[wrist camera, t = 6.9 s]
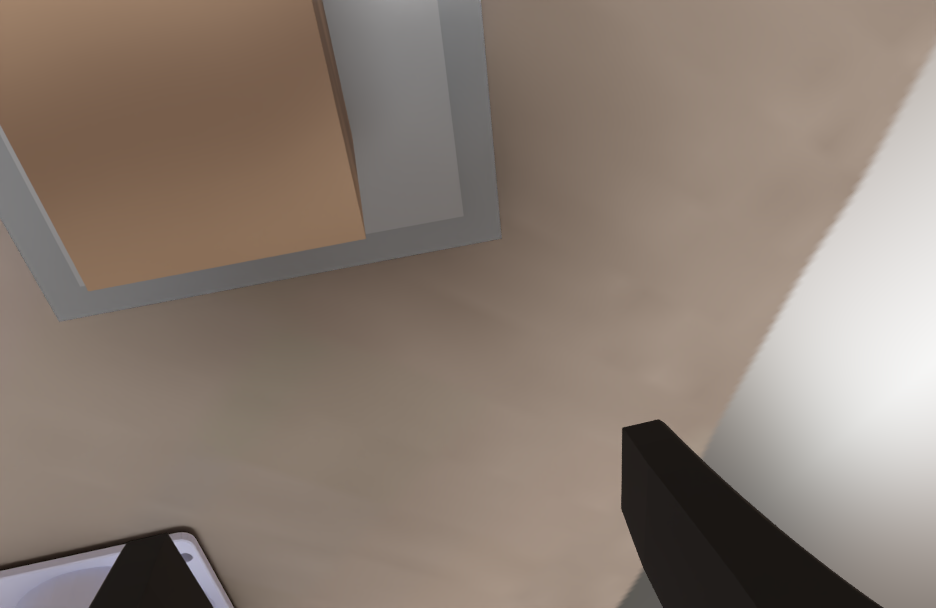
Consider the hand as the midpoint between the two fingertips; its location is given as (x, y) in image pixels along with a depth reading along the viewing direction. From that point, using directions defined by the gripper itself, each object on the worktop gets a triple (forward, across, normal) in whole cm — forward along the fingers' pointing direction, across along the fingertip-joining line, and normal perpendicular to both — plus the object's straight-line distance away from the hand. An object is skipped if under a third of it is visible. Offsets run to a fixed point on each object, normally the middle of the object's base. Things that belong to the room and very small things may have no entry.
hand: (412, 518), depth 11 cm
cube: (+9, +2, -5) cm, 11 cm away
